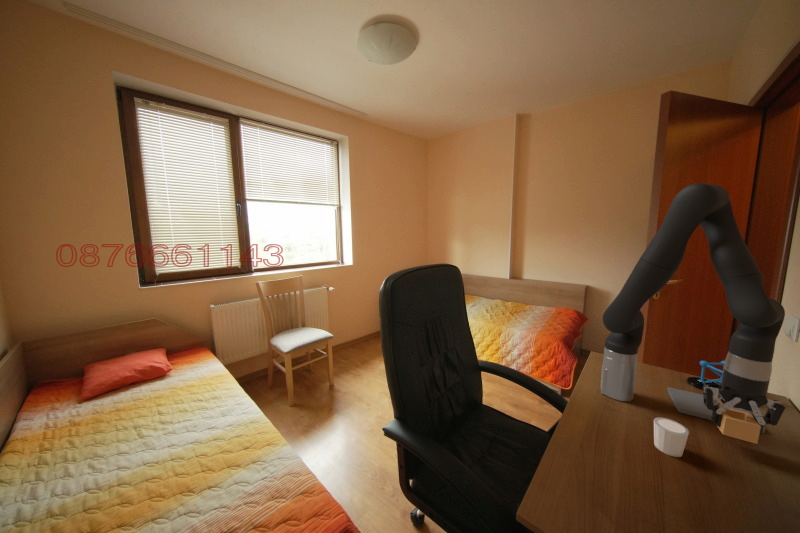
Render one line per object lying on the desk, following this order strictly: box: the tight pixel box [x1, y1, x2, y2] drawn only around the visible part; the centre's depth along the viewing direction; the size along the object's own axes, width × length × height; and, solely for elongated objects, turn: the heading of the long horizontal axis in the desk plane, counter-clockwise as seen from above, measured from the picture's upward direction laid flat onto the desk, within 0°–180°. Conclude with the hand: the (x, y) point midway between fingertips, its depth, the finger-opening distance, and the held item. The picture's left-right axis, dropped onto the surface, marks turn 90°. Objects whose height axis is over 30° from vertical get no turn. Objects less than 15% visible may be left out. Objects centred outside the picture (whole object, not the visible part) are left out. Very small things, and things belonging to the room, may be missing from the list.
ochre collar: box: [716, 409, 761, 445], centre depth 74 cm, size 6×6×5 cm
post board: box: [666, 386, 766, 434], centre depth 90 cm, size 18×14×2 cm
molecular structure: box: [697, 360, 725, 398], centre depth 99 cm, size 10×10×10 cm
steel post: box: [713, 393, 719, 405], centre depth 90 cm, size 2×2×6 cm
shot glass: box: [653, 417, 690, 458], centre depth 74 cm, size 7×7×7 cm
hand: (734, 429), depth 74 cm, fingers closed on ochre collar, 6 cm apart
